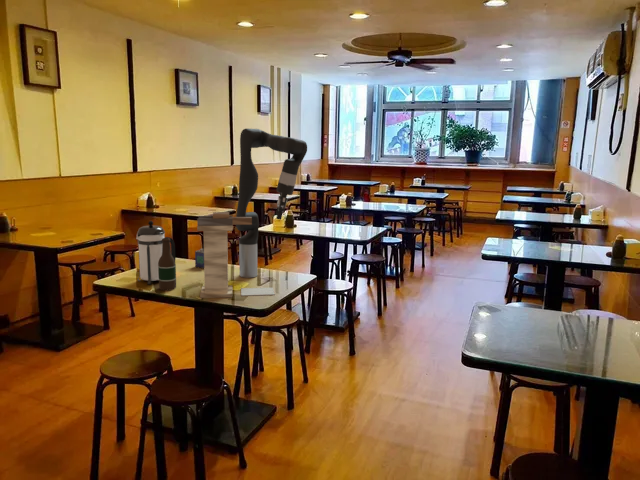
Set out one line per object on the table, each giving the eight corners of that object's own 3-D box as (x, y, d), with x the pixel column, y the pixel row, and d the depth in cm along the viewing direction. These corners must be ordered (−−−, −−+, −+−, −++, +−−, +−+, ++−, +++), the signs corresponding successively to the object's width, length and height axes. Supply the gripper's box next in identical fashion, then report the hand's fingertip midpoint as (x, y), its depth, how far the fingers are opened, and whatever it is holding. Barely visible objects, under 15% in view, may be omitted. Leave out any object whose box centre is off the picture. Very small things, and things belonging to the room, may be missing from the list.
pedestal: (201, 289, 232) (199, 215, 225) (233, 288, 234) (232, 215, 228) (198, 298, 218) (196, 219, 212) (233, 297, 221) (232, 219, 214)
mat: (241, 289, 233) (241, 288, 233) (272, 288, 236) (272, 287, 236) (241, 296, 223) (241, 295, 223) (274, 295, 225) (274, 294, 225)
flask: (210, 268, 272) (209, 249, 270) (206, 269, 270) (206, 250, 268) (197, 266, 277) (196, 247, 275) (193, 267, 274) (193, 248, 272)
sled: (213, 223, 223) (213, 212, 222) (251, 222, 226) (251, 212, 225) (212, 225, 217) (212, 213, 216) (251, 225, 220) (251, 213, 219)
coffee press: (165, 285, 237) (163, 223, 231) (132, 284, 237) (129, 222, 232) (176, 276, 254) (174, 218, 248) (145, 275, 254) (143, 217, 249)
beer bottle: (155, 289, 231) (153, 238, 226) (167, 285, 237) (165, 236, 233) (167, 291, 227) (165, 240, 223) (179, 287, 234) (178, 237, 230)
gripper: (278, 178, 228) (269, 212, 231) (279, 182, 214) (270, 218, 218) (293, 182, 230) (285, 216, 233) (296, 187, 216) (287, 222, 219)
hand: (278, 217), depth 225 cm, fingers open, 8 cm apart
